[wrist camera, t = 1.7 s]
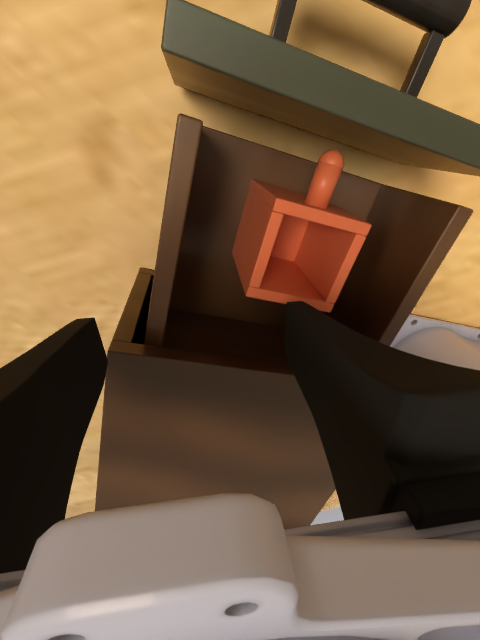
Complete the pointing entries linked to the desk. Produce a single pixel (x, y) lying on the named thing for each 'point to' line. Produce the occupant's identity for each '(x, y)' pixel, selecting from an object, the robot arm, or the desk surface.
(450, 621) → the robot arm
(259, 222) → the scoop
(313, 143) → the desk surface
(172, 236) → the drawer
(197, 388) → the cabinet
